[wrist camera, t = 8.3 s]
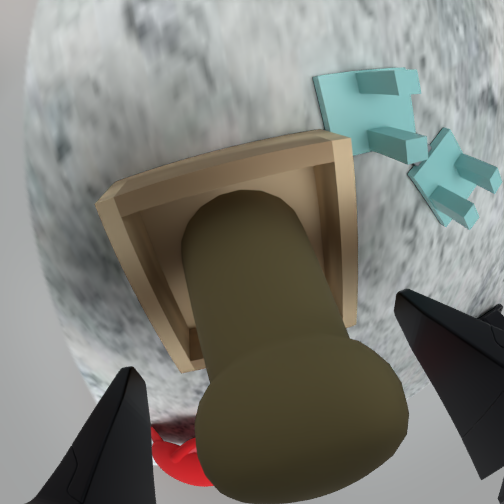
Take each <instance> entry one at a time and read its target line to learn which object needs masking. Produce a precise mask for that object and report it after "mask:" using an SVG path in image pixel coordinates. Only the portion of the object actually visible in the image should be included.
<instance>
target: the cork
mask: <svg viewBox="0 0 504 504" xmlns="http://www.w3.org/2000/svg"><path fill="white" fill-rule="evenodd" d="M181 257H182V264H183V269H184V274H185V279H186V284H187V289H188V293H189V298H190V303H191V307H192V312H193V316H194V321H195V325H196V329H197V333H198V338H199V342H200V346H201V350H202V354H203V358H204V362H205V365H206V369H207V373H208V377H209V380H210V385H209V386H208V388H207V390H206V392H205V393H204V395H203V397H202V399H201V400H200V402H199V406H198V410H197V415H196V419H195V438H196V449H197V455H198V459H199V462H200V464H201V467H202V469H203V471H204V474H205V476H206V477H207V479H208V480H209V481H210V482H211V483H212V484H213V485H214V486H215V487H216V488H217V489H218V491H219V492H220V493H222V494H224V495H226V496H227V497H230V498H232V499H235V500H238V501H240V502H244V503H252V504H284V503H292V502H298V501H304V500H310V499H314V498H317V497H321V496H324V495H327V494H330V493H333V492H335V491H338V490H340V489H342V488H344V487H347V486H349V485H351V484H352V483H354V482H356V481H358V480H360V479H361V478H363V477H365V476H367V475H368V474H369V473H371V472H372V471H374V470H375V469H376V468H378V467H379V466H381V465H382V464H383V463H384V462H385V461H387V460H388V459H389V458H390V457H392V456H393V455H394V453H395V452H396V450H397V449H398V447H399V446H400V444H401V442H402V441H403V440H404V438H405V436H406V435H407V429H408V419H409V411H408V406H407V402H406V398H405V394H404V391H403V387H402V383H401V381H400V380H399V378H398V377H397V375H396V373H395V372H394V370H393V369H392V367H391V366H390V364H389V363H387V362H386V361H385V360H384V359H383V358H382V357H380V356H379V355H378V354H377V353H376V352H375V351H373V350H372V349H370V348H369V347H367V346H366V345H364V344H362V343H361V342H359V341H357V340H353V339H350V338H349V335H348V332H347V330H346V327H345V325H344V322H343V320H342V317H341V315H340V312H339V310H338V307H337V305H336V302H335V300H334V297H333V295H332V292H331V290H330V287H329V285H328V283H327V280H326V278H325V275H324V273H323V271H322V268H321V266H320V264H319V261H318V259H317V257H316V254H315V252H314V250H313V248H312V245H311V243H310V241H309V239H308V236H307V234H306V232H305V230H304V227H303V225H302V223H301V222H300V220H299V218H298V216H297V214H296V212H295V211H294V209H292V208H291V207H290V206H289V205H288V204H287V203H286V202H284V201H283V200H282V199H281V198H279V197H277V196H274V195H272V194H269V193H266V192H264V191H261V190H236V191H232V192H229V193H225V194H221V195H218V196H217V197H215V198H214V199H212V200H211V201H209V202H207V203H206V204H204V205H203V206H201V207H200V208H199V210H198V211H197V212H196V213H195V214H194V216H193V217H192V218H191V219H190V221H189V222H188V223H187V226H186V229H185V232H184V235H183V238H182V240H181Z"/></svg>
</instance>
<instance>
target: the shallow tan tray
mask: <svg viewBox="0 0 504 504" xmlns="http://www.w3.org/2000/svg"><path fill="white" fill-rule="evenodd" d="M236 190H261V191H264V192H266V193H269V194H272V195H274V196H277V197H279V198H281V199H282V200H283V201H284V202H286V203H287V204H288V205H289V206H290V207H291V208H292V209H294V211H295V212H296V214H297V216H298V218H299V220H300V222H301V223H302V225H303V227H304V230H305V232H306V234H307V236H308V239H309V241H310V243H311V245H312V248H313V250H314V252H315V254H316V257H317V259H318V261H319V264H320V266H321V268H322V271H323V273H324V275H325V278H326V280H327V283H328V285H329V287H330V290H331V292H332V295H333V297H334V300H335V302H336V305H337V307H338V310H339V312H340V315H341V317H342V320H343V322H344V325H345V327H346V328H348V327H351V326H354V325H356V318H357V293H358V231H357V205H356V188H355V174H354V163H353V152H352V142H351V138H350V137H346V136H343V135H339V134H336V133H332V132H329V131H325V130H322V129H318V130H311V131H306V132H300V133H294V134H289V135H283V136H278V137H273V138H268V139H264V140H259V141H254V142H250V143H246V144H241V145H237V146H233V147H229V148H225V149H221V150H217V151H213V152H209V153H205V154H202V155H198V156H194V157H191V158H187V159H184V160H180V161H177V162H174V163H170V164H167V165H164V166H161V167H158V168H154V169H151V170H148V171H145V172H142V173H139V174H136V175H133V176H131V177H128V178H125V179H122V180H119V181H116V182H115V183H114V184H113V185H112V186H111V187H110V188H109V189H108V190H107V191H106V192H105V193H104V194H103V195H102V197H101V198H100V199H99V200H98V201H97V202H96V203H95V207H96V209H97V212H98V214H99V217H100V219H101V221H102V224H103V226H104V229H105V231H106V233H107V236H108V238H109V240H110V242H111V245H112V247H113V249H114V251H115V253H116V256H117V258H118V260H119V262H120V264H121V266H122V268H123V270H124V273H125V275H126V277H127V279H128V281H129V283H130V285H131V287H132V289H133V291H134V292H135V294H136V296H137V298H138V300H139V302H140V304H141V306H142V308H143V310H144V311H145V313H146V315H147V317H148V319H149V320H150V322H151V324H152V326H153V328H154V329H155V331H156V333H157V335H158V336H159V338H160V340H161V341H162V343H163V345H164V346H165V348H166V350H167V351H168V353H169V355H170V356H171V358H172V360H173V361H174V363H175V364H176V366H177V368H178V369H179V371H180V372H181V373H185V372H190V371H195V370H200V369H205V368H206V365H205V362H204V358H203V354H202V350H201V346H200V342H199V338H198V333H197V329H196V325H195V321H194V316H193V312H192V307H191V303H190V298H189V293H188V289H187V284H186V279H185V274H184V269H183V264H182V257H181V240H182V238H183V235H184V232H185V229H186V226H187V223H188V222H189V221H190V219H191V218H192V217H193V216H194V214H195V213H196V212H197V211H198V210H199V208H200V207H201V206H203V205H204V204H206V203H207V202H209V201H211V200H212V199H214V198H215V197H217V196H218V195H221V194H225V193H229V192H232V191H236Z"/></svg>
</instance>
